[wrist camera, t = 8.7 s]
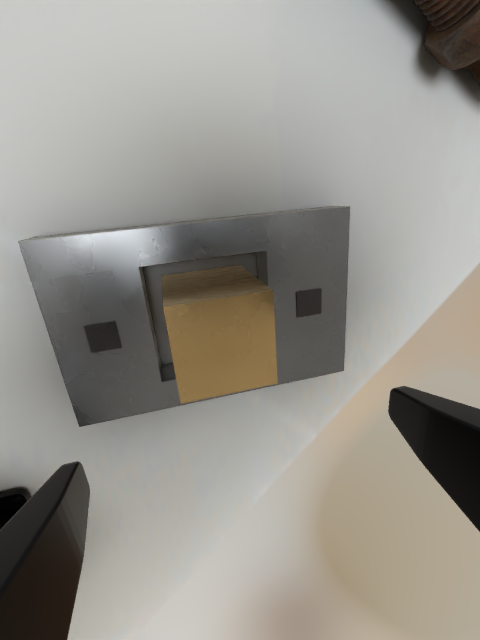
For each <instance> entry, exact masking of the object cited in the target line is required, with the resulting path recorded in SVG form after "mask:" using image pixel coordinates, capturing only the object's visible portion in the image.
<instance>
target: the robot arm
mask: <svg viewBox="0 0 480 640" xmlns="http://www.w3.org/2000/svg"><path fill="white" fill-rule="evenodd" d="M388 412H389V416H390V418H391V420H392V421H393V423H394V424H395V425H396V427H397V428H398V430H399V431H400V432H401V434H402V435H403V437H404V438H405V440H406V441H407V443H408V444H409V446H410V447H411V448H412V450H413V451H414V453H415V454H416V456H417V457H418V458H419V460H420V461H421V462H422V463H423V465H424V466H425V467H426V468H427V470H428V471H429V472H430V473H431V474H432V476H433V477H434V478H435V479H436V480H437V482H438V483H439V484H440V485H441V486H442V487H443V489H444V490H445V491H446V492H447V493H448V495H449V496H450V497H451V498H452V499H453V501H454V502H455V503H456V504H457V505H458V507H459V508H460V509H461V510H462V511H463V512H464V514H465V515H466V516H467V517H468V518H469V520H470V521H471V522H472V523H473V524H474V526H475V527H476V528H477V529H478V530H479V531H480V409H478V408H474V407H471V406H468V405H465V404H462V403H458V402H455V401H452V400H449V399H445V398H442V397H439V396H436V395H432V394H429V393H426V392H423V391H419V390H416V389H413V388H410V387H406V386H401V387H397V388H393V389H392V390H391V392H390V399H389V409H388ZM17 497H19V498H17ZM89 497H90V488H89V483H88V480H87V478H86V475H85V472H84V469H83V466H82V464H81V463H80V462H73V463H68V464H64V465H62V466H61V467H60V468H59V469H58V470H57V471H56V472H55V473H54V474H53V475H52V476H51V477H50V478H49V479H48V480H47V481H46V482H45V483H44V485H43V486H42V487H41V488H40V489H39V490H38V491H37V492H36V493H35V494H34V495H33V496H32V497H31V498H30V496H29V494H28V492H27V491H26V490H24V489H15V490H10V491H6V492H2V493H0V640H67V638H68V633H69V628H70V623H71V618H72V613H73V608H74V603H75V598H76V594H77V589H78V584H79V579H80V574H81V569H82V563H83V557H84V549H85V539H86V528H87V518H88V508H89Z"/></svg>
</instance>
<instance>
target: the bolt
mask: <svg viewBox="0 0 480 640" xmlns="http://www.w3.org/2000/svg"><path fill="white" fill-rule="evenodd" d="M414 1H415V4H416V5H418V4H419V9H420V10H423V14H424V15H425V16H426V15H427V19H428V20H429V21H431V24H430V26H429V27H428V30H427V33H426V37H425V42H424V46H425V48H426V49H427V50H428V51H429V52H430V54H431V55H432V56H433V57H434V58H435V59H436V61H437V62H438V63H439V64H441V65H442V66H444V67H446V68H448V69H450V70H457V69H460V68H463V67H466V68H468V71H469V72H470V73H471V74H472V76H473V77H475V79H476V81H478V83H479V85H480V0H414Z"/></svg>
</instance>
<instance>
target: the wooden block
mask: <svg viewBox="0 0 480 640" xmlns="http://www.w3.org/2000/svg"><path fill="white" fill-rule="evenodd" d="M162 294H163V309H164V315H165V320H166V326H167V331H168V337H169V342H170V348H171V353H172V359H173V364H174V370H175V375H176V381H177V386H178V392H179V397H180V403H181V404H183V403H187V402H192V401H197V400H202V399H206V398H211V397H216V396H221V395H225V394H230V393H235V392H240V391H244V390H249V389H254V388H259V387H263V386H268V385H273V384H278V379H277V358H276V337H275V317H274V296H273V290H272V289H271V288H269V287H268V286H267V285H265V284H264V283H263V282H261V281H260V280H259V279H257V278H256V277H255V276H253V275H252V274H251V273H249V272H248V271H247V270H246V269H244V268H243V267H242V266H240V265H236V266H229V267H221V268H214V269H206V270H198V271H191V272H183V273H176V274H168V275H162Z"/></svg>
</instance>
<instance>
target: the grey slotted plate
mask: <svg viewBox="0 0 480 640" xmlns="http://www.w3.org/2000/svg"><path fill="white" fill-rule="evenodd" d="M349 220H350V207H346V206H329V207H320V208H310V209H300V210H291V211H281V212H271V213H262V214H252V215H242V216H233V217H223V218H213V219H204V220H194V221H184V222H175V223H165V224H155V225H146V226H136V227H126V228H117V229H107V230H98V231H88V232H78V233H69V234H59V235H49V236H40V237H33V238H29V239H25V240H21V241H18V243H19V246H20V249H21V252H22V255H23V258H24V261H25V264H26V267H27V270H28V273H29V276H30V279H31V282H32V285H33V288H34V291H35V294H36V297H37V300H38V303H39V306H40V309H41V312H42V315H43V318H44V321H45V324H46V327H47V330H48V333H49V337H50V340H51V343H52V346H53V349H54V352H55V355H56V358H57V361H58V364H59V367H60V370H61V373H62V376H63V379H64V382H65V385H66V388H67V391H68V394H69V397H70V400H71V403H72V406H73V409H74V412H75V415H76V418H77V421H78V424H79V427H81V426H86V425H91V424H95V423H100V422H105V421H110V420H114V419H119V418H124V417H128V416H133V415H138V414H143V413H147V412H152V411H157V410H161V409H166V408H171V407H176V406H180V405H185V404H190V403H194V402H199V401H204V400H209V399H213V398H218V397H223V396H227V395H232V394H237V393H242V392H246V391H251V390H256V389H260V388H265V387H270V386H275V385H279V384H284V383H289V382H293V381H298V380H303V379H308V378H312V377H317V376H322V375H326V374H331V373H336V372H341V371H344V353H345V326H346V300H347V273H348V246H349ZM252 252H256V257H257V272H258V279H259V280H260V281H261V282H263V283H264V284H265V285H267V286H268V287H269V288H271V289H272V290H273V296H274V317H275V337H276V358H277V379H278V384H273V385H268V386H263V387H259V388H254V389H249V390H244V391H240V392H235V393H230V394H225V395H221V396H216V397H211V398H206V399H202V400H197V401H192V402H187V403H183V404H181V403H180V397H179V392H178V386H177V381H176V375H175V370H174V364H167V365H162V366H161V361H160V356H159V351H158V346H157V341H156V336H155V331H154V326H153V321H152V316H151V311H150V306H149V301H148V296H147V291H146V285H145V280H144V275H143V270H142V266H149V265H157V264H165V263H173V262H181V261H189V260H197V259H205V258H212V257H220V256H228V255H236V254H244V253H252Z"/></svg>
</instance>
